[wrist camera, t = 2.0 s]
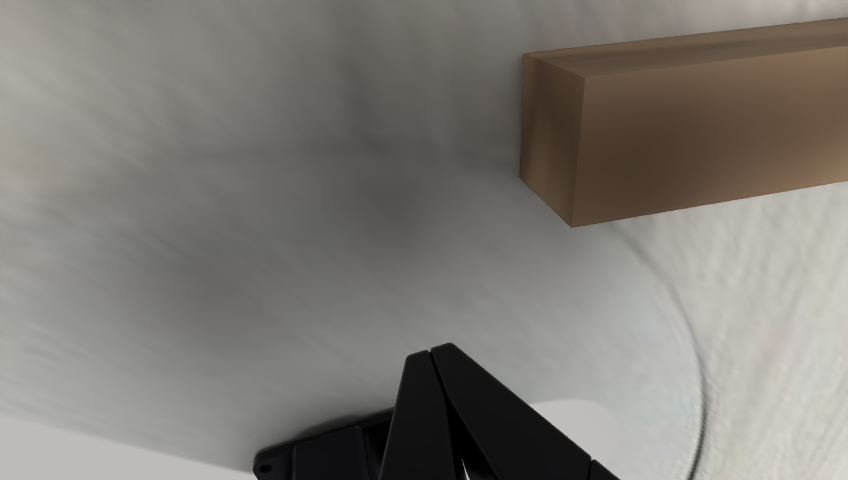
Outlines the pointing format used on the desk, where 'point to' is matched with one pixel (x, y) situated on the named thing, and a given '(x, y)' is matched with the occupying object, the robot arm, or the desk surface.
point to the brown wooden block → (685, 120)
